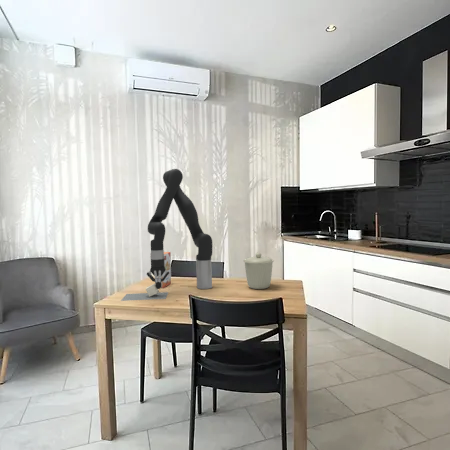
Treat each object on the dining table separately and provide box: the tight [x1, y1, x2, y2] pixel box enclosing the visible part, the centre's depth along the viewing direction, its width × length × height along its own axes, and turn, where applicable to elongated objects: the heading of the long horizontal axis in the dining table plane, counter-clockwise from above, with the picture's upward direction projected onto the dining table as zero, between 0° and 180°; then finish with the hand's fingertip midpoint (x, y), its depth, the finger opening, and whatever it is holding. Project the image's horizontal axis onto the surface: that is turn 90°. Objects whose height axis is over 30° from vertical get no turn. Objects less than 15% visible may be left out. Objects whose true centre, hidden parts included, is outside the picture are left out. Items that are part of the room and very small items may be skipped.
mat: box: [120, 291, 169, 302], centre depth 184 cm, size 24×14×1 cm, turn 94°
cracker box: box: [154, 251, 172, 289], centre depth 209 cm, size 14×6×21 cm, turn 168°
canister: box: [243, 252, 275, 290], centre depth 199 cm, size 18×18×21 cm
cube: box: [145, 283, 160, 297], centre depth 184 cm, size 5×5×5 cm
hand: (158, 288), depth 184 cm, fingers closed
